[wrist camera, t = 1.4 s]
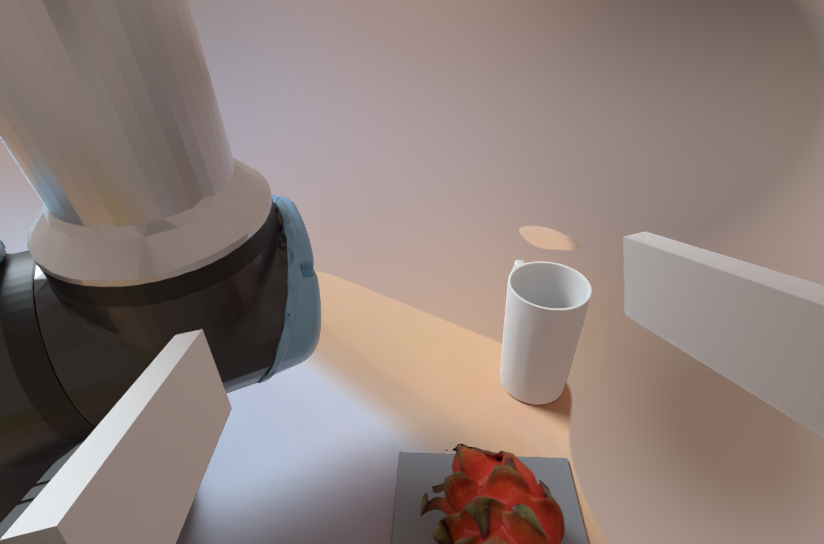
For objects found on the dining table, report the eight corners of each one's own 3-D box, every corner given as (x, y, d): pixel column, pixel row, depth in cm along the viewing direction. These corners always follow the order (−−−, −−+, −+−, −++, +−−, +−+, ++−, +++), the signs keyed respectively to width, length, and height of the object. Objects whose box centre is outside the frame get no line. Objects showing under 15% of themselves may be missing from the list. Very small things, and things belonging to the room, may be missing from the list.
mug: (580, 399, 40) (609, 301, 33) (514, 415, 39) (530, 317, 32) (531, 329, 48) (547, 238, 41) (475, 340, 47) (482, 249, 40)
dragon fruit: (518, 684, 25) (457, 502, 36) (635, 607, 24) (536, 442, 35) (432, 654, 22) (391, 460, 32) (566, 561, 20) (478, 391, 31)
